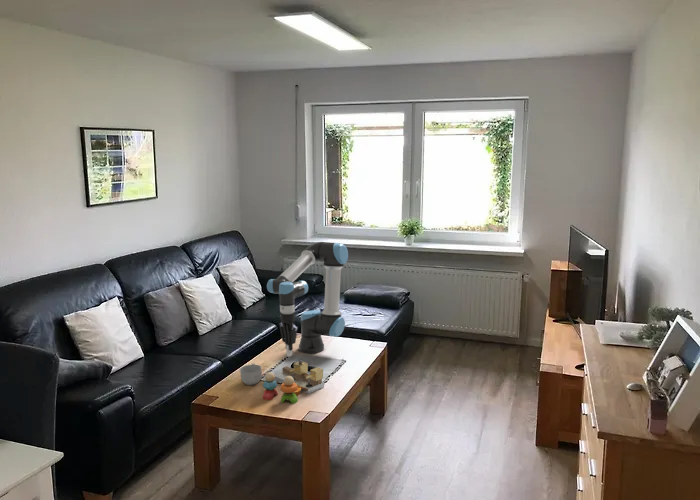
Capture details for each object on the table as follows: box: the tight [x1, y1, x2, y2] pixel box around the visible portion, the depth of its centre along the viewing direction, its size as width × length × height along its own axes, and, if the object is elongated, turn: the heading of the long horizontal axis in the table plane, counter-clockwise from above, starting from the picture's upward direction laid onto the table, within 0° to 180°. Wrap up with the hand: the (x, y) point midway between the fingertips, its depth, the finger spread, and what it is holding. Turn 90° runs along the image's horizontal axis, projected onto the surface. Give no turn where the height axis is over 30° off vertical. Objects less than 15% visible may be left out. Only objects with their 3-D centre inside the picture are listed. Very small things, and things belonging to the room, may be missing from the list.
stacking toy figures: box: [262, 371, 302, 405], centre depth 273 cm, size 18×17×12 cm
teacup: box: [239, 362, 263, 386], centre depth 291 cm, size 14×11×8 cm
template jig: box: [273, 366, 325, 395], centre depth 288 cm, size 11×27×9 cm, turn 48°
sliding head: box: [289, 359, 309, 379], centre depth 288 cm, size 10×5×8 cm, turn 138°
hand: (289, 355), depth 296 cm, fingers closed
